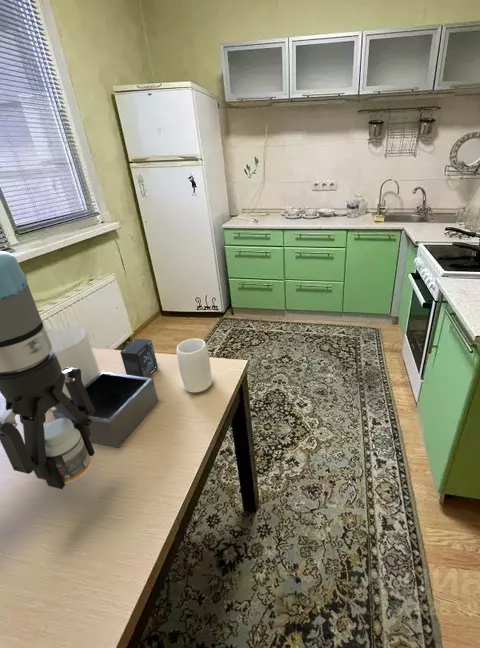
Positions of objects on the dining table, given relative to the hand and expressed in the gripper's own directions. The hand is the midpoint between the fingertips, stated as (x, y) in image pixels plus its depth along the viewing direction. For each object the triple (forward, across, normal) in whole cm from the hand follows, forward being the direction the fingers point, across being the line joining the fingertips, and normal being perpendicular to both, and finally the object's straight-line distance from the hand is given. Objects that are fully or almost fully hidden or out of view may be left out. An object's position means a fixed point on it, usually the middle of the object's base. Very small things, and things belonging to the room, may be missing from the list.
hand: (72, 468), depth 57 cm
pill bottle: (+1, 0, 0) cm, 1 cm away
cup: (+13, +38, -2) cm, 40 cm away
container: (+13, +28, +32) cm, 44 cm away
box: (+13, +40, +18) cm, 46 cm away
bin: (+13, +22, +14) cm, 29 cm away
